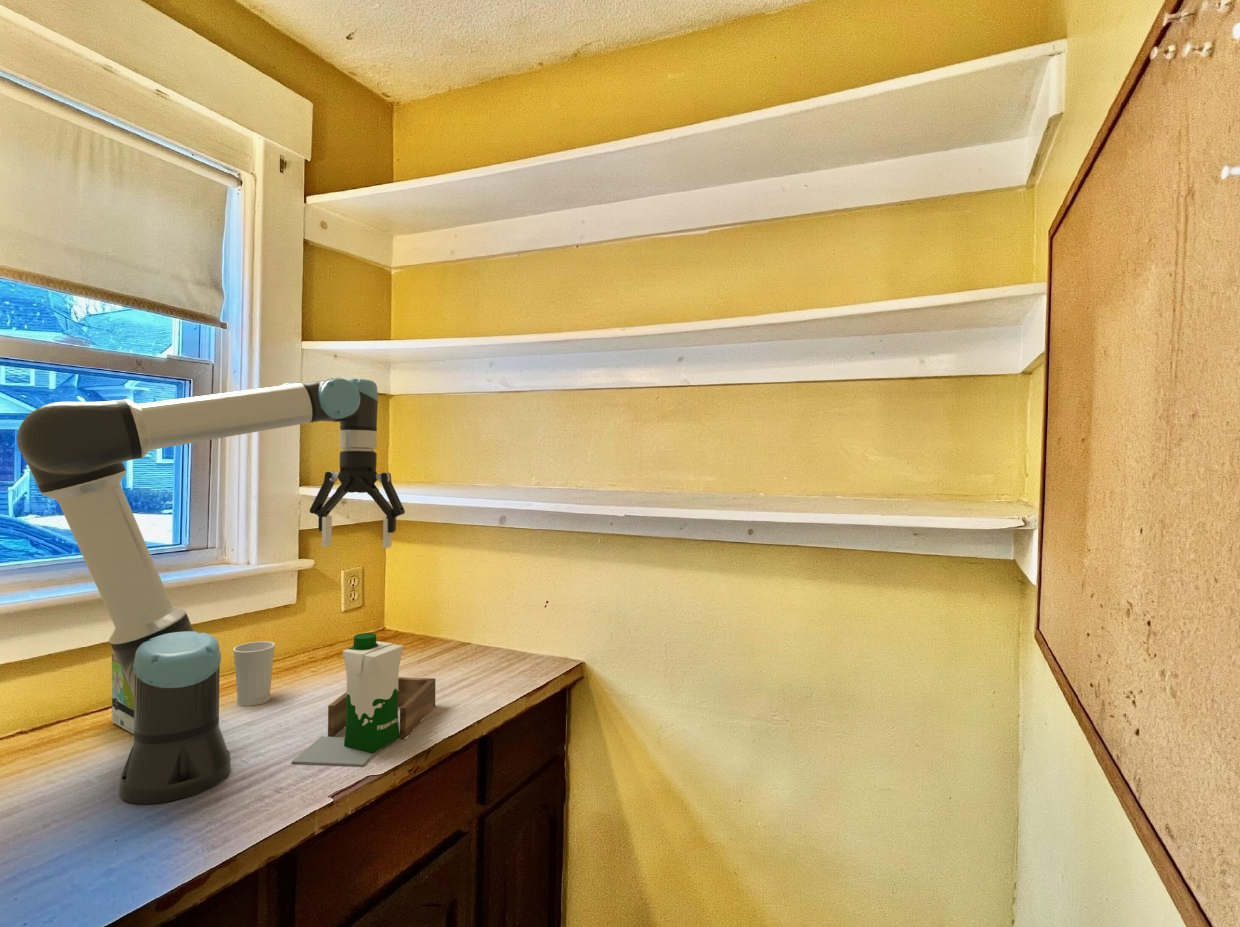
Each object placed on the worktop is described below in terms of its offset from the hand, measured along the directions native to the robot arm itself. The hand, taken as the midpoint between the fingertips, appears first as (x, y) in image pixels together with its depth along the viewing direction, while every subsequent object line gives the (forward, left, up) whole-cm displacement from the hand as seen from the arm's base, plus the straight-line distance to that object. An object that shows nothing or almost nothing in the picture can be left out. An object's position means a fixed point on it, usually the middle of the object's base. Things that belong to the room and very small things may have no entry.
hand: (356, 547), depth 138 cm
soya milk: (+13, -19, -34) cm, 41 cm away
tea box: (-34, -14, -35) cm, 51 cm away
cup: (-23, 0, -35) cm, 42 cm away
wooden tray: (+10, -8, -35) cm, 37 cm away
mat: (+8, -22, -35) cm, 42 cm away
